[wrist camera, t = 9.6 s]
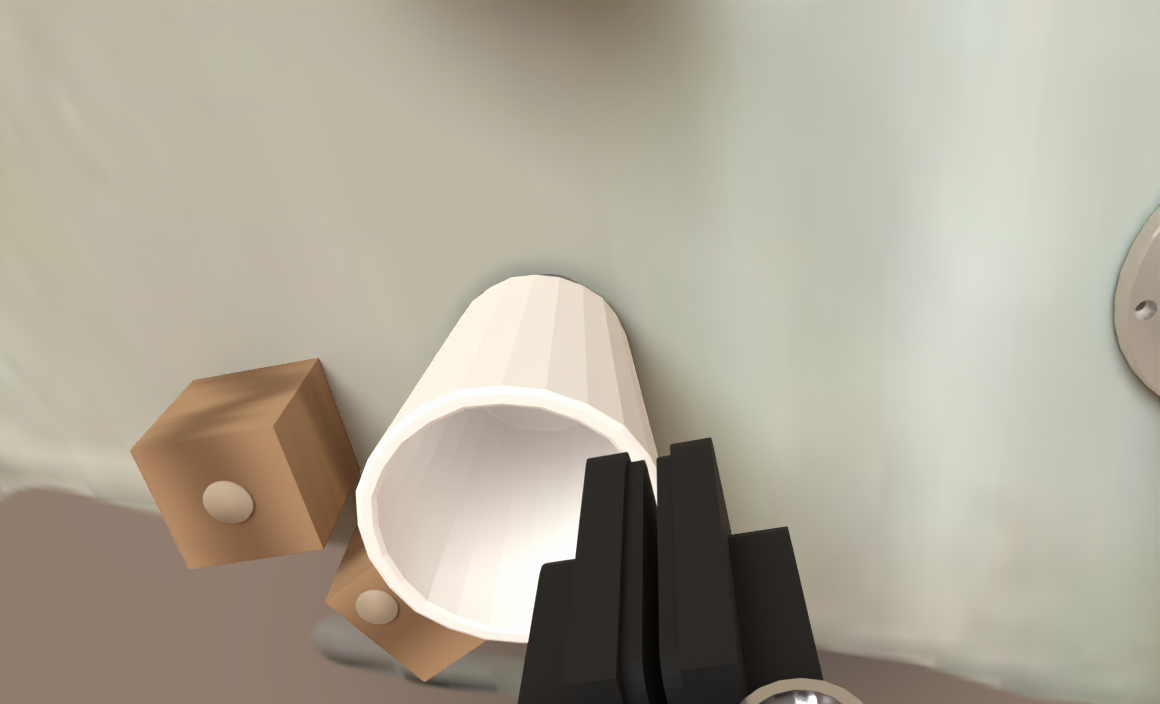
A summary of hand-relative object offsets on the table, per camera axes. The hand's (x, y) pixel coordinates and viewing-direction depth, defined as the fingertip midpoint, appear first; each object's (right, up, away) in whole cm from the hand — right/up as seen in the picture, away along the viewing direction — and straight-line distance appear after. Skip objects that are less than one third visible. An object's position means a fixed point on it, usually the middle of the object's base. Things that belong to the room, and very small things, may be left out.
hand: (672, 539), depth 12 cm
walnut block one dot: (-15, -1, +30) cm, 33 cm away
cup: (-3, +3, +27) cm, 28 cm away
